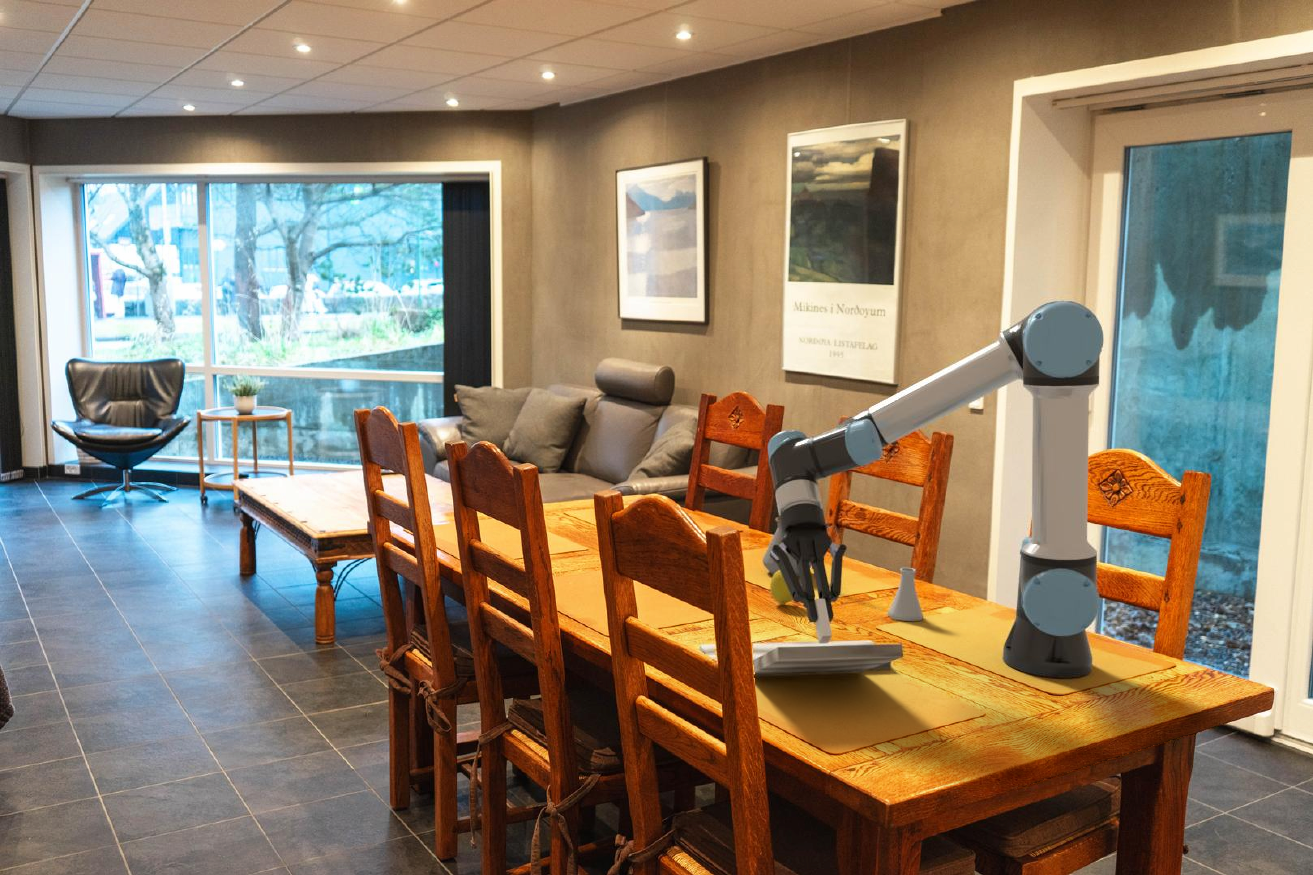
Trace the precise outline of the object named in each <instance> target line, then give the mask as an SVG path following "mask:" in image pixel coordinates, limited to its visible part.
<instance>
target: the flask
mask: <svg viewBox="0 0 1313 875" xmlns="http://www.w3.org/2000/svg"><path fill="white" fill-rule="evenodd" d="M899 571H900V581H899V585H898V589H897V591H896V593H895V596H894V598H893V601H892V603H891V605H890V607H889V610H888V613H887V614H886V616H888V617H890V618H891V619H892V620H896V621H905V622H916V621H917V622H919V621H922V620H923V618H924V614H923V611H922V608H921V605H920V602H919V597H918V594H917V590H916V585H915V575H916V572H917V569H915V568H913V567H901V568H899Z"/></svg>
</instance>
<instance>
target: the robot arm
mask: <svg viewBox="0 0 1313 875" xmlns="http://www.w3.org/2000/svg"><path fill="white" fill-rule="evenodd" d="M1102 327H1103V326H1102V324H1101V323H1100V321H1099V319H1098V318H1097V316H1096V314H1094V313H1093V312H1092V310H1090V309H1089V308H1088V307H1087V306H1084V305H1083V304H1081V303H1078V302H1076V301H1070V300H1060V301H1059V300H1057V301H1051V302H1045V303H1044V304H1042V305H1041V306H1038V307H1037V308H1036V309H1034V310H1033V311H1032V312H1030V314H1028V315H1027V316H1026V317H1023V319H1021V320H1020V321H1018V322H1017V323H1016V324H1014V325H1012V326H1011V327H1009V328H1007V329H1004V330H1003V331H1001V332H999V334H998V337H997V340H995V342H993V343H991V344H989V345H987V346H985V347H983V348H982V349H979V350H977V351H976V352H974V353H971V354H970V355H968V356H965V357H963V359H960V360H958V361H957V362H955V363H953V364H951V365H949V366H947V367H945V368H943V369H942V370H940V371H937V372H935V373H933V374H932V375H930V376H927V377H926V378H923V379H922V380H920V381H918V382H917V383H915V384H912V385H911V386H908V387H906V388H905V389H903V390H901V391H899V392H897V393H895V394H893V395H892V396H890V397H888V398H886V399H884V400H882V401H879V402H878V403H876V404H875V405H872V406H871V407H869V408H868V409H865V410H863V411H861V412H859V413H857V414H855V415H853V416H849V417H847V418H845V419H843V420H842V421H841V422H840V423H839V424H838V425H837V426H836V427H835V428H834V429H831V430H829V431H825V432H822V433H820V434H818V435H815V436H809V437H808V436H807V434H806V433H805V432H803V431H801V430H798V429H797V430H796V429H792V430H790V431H789V430H783V431H780V432H778V433H776V434H775V435H773V436H772V437H771V438H770V439H769V442H768V443H767V453H768V454H767V455H768V467H769V469H770V473H771V479H772V483H773V489H774V494H775V495H774V496H775V500H776V501H775V502H776V507H777V511H778V517H780V518H779V519H780V525H781V530H782V536H783V539H782V541H781V544H779V545H774V546H773V548H772V550H771V553H770V557H771V558H772V559H773V560H774V561H775V562H776V563H777V564H778V567H779V569H780V571H781V573H782V576H783V578H784V580H785V582H786V585H787V587H788V589H789V591H790V594H791V596H792V598H793V599H792V601H793V602H795V603H802V604H803V607H804V608H805V609H806V613H807V618H808V621H809V623H814V627H815V631H816V636H817V642H819V644H820V643H828V642H829V641H831V639H832V636H833V634H832V628H831V624H830V623H831V622H832V620H833V619H834V616H835V615H834V610H833V605H832V603H835V602H836V601H838V598H839V597H840V595H841V592H842V576H843V575H842V574H843V558H844V557H843V556H844V555H845V552H846V551H847V548H848V547H847V546H846V545H845V544H844V543H843V544H840V545H839V544H837V543H834V542H833V540H832V537H831V536H830V535H829V533H828V529H827V527H826V524H827V523H826V518H825V514H824V510H823V503H822V500H821V498H822V497H821V494H820V490H819V484H818V480H819V481H820V480H821V479H825V478H828V477H830V476H835V475H837V474H840V473H844V472H846V471H847V472H848V471H851V470H853V469H856V468H860V467H866V466H868V465H870V464H871V463H874V462H876V461H879V460H881V458H882V457H883V455H884V451H883V448H885V447H886V446H888V445H890V444H892V443H894V442H896V441H898V440H900V439H902V438H903V437H906V436H908V435H909V434H912V433H914V432H915V431H917V430H919V429H922V428H924V427H926V426H928V425H930V424H932V423H933V422H936V421H938V420H940V419H941V418H945V417H946V416H947V415H950V414H952V413H953V412H955V411H957V410H959V409H962V408H964V407H966V406H967V405H969V404H971V403H973V402H975V401H978V400H979V399H981V398H983V397H986V396H987V395H989V394H992V393H993V392H995V391H997V390H1000V389H1002V388H1003V387H1005V386H1008V385H1009V384H1011V383H1013V382H1015V381H1018V380H1021V381H1023V382H1022V386H1023V388H1025V389H1026V390H1027V391H1028V392H1029V393H1030V394H1031V396H1032V437H1031V438H1032V439H1031V440H1032V441H1031V442H1032V444H1031V446H1032V447H1031V448H1032V449H1031V450H1032V452H1031V453H1032V456H1031V457H1032V460H1031V462H1032V463H1031V469H1032V471H1031V477H1032V478H1031V482H1032V483H1031V536H1028V537H1027V536H1026V537H1025V538H1024V539H1022V542H1021V548H1020V550H1019V555H1020V558H1019V559H1020V561H1019V572H1018V573H1019V574H1018V587H1017V601H1016V609H1015V610H1016V613H1015V620H1014V621H1013V624H1012V626H1011V629H1010V631H1009V633H1008V635H1007V637H1006V640H1005V643H1004V644H1003V649H1002V660H1003V662H1004V663H1005V664H1006V665H1008V666H1009V667H1011V668H1014V669H1016V670H1017V671H1021V672H1024V673H1028V674H1030V675H1036V676H1041V677H1046V676H1047V678H1055V677H1057V678H1058V679H1071V678H1080V677H1084V676H1088V675H1089V674H1090V673H1091V672H1092V669H1093V654H1092V651H1091V647H1090V644H1089V639H1088V635H1087V630H1086V629H1087V628H1089V627H1090V626H1091V625H1092V624H1093V622H1094V621H1095V619H1096V618H1097V616H1098V613H1099V609H1100V606H1101V597H1100V595H1099V594H1100V593H1099V591H1098V588H1097V585H1098V584H1097V581H1098V579H1097V577H1098V572H1097V571H1098V568H1097V566H1098V565H1097V564H1098V563H1097V562H1098V561H1097V560H1098V553H1097V552H1098V551H1097V550H1096V548H1095V547H1093V545H1092V544H1090V542H1089V541H1088V503H1089V502H1088V493H1089V491H1088V490H1089V487H1088V486H1089V480H1088V478H1089V426H1090V425H1089V424H1090V423H1089V418H1090V417H1089V415H1090V414H1089V412H1090V411H1089V410H1090V409H1089V407H1090V406H1089V404H1090V403H1089V402H1090V399H1089V398H1090V395H1091V394H1092V393H1093V391H1094V390H1096V389H1097V388H1098V387H1099V386H1100V365H1101V364H1100V361H1101V360H1100V359H1101V358H1100V355H1101V353H1102V351H1103V350H1102V349H1103V347H1104V331H1103V328H1102ZM828 551H830V557H831V558H832V561H831V566H830V569H831V572H830V585H829V580H828V574H827V571H826V564H825V556H826V554H827V553H828ZM786 553H788V554H789V555H790V556H791V557H792V558H793V559H794V560H796V565H797V569H798V570H799V576H800V577H797V576H796V574H795V571H794V569H793V567H792V565H791V562H790V560H789V558H788V556H787V554H786ZM809 563H811V567H810V566H809ZM811 569H812V571H813V575H814V580H815V585H816V589H817V594H818V598H815V597H816V593H815V587H814V582H813V576H812V571H811ZM799 580H800V581H799ZM1057 678H1056V679H1057Z"/></svg>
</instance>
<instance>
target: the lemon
mask: <svg viewBox="0 0 1313 875" xmlns="http://www.w3.org/2000/svg"><path fill="white" fill-rule="evenodd" d="M769 588H770V590H769V591H770V594H771V596H772V598H773V599H774V600H775V601H776V602H778V603H779V605H780V606H785V605H786V604H788V603H789V602H791V601H793V598H792V596H791V594H790V591H789V589H788V587H787V585H786V582H785V580H784V578H783V576H782V573H781V571H780V570H778V571H777V572H775V574H774V575H773V574H772V577H771V580H770V585H769Z"/></svg>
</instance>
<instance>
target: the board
mask: <svg viewBox="0 0 1313 875" xmlns="http://www.w3.org/2000/svg"><path fill="white" fill-rule="evenodd" d="M715 644H716V643H714V644H713V643H712V644H711V643H709V644H705V643H704V644H699V652H700V651H701V652H702V653H704V654H706V655H709V656H710V657H711V658H712V659H716V655H715ZM841 645H876V643H875V642H873V641H872V640H870V639H869V640H866V639H865V640H833V641H831V640H829V642H828V643H820V644H819V642H818V641H794V642H793V641H790V642H788V641H787V642H753V660H755V659H757V658H758V657H760V656H762V655H764V654H766V653H768V652H770V651H772V650H773V649H775V648H777V647H802V646H841ZM891 663H892V661H891V662H888V663H885V664H882V665H879V666H877V667H874V668H871V669H868V670H867V671H879V670H880V671H882V670H883V671H884V670H885V671H886V670H888V671H889V670H891V669H892V668H891V666H892V665H891Z"/></svg>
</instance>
